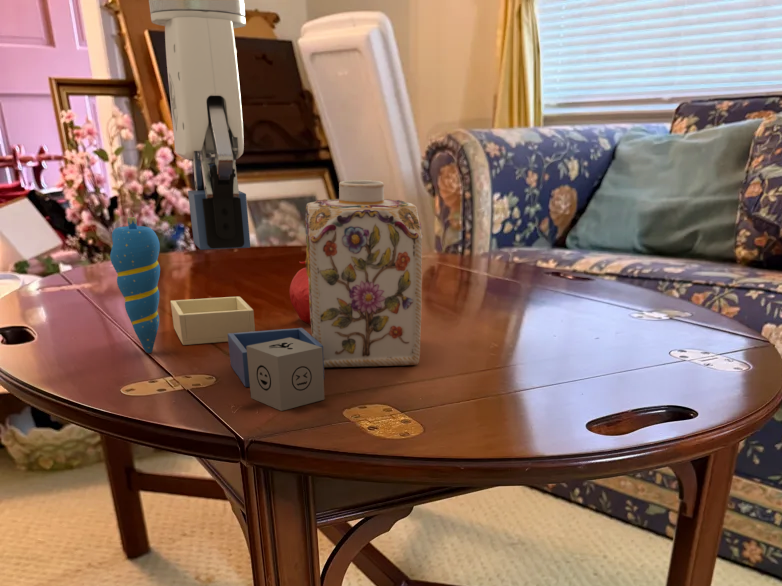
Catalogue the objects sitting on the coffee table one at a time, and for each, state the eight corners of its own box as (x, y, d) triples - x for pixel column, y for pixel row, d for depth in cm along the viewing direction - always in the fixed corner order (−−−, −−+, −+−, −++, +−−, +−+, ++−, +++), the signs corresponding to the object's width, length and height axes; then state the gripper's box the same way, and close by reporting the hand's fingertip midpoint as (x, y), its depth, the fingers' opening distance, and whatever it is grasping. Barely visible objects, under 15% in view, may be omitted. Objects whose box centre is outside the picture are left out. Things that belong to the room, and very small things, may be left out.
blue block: (200, 249, 68) (193, 194, 66) (193, 243, 71) (187, 190, 69) (250, 247, 69) (246, 193, 67) (241, 241, 73) (237, 189, 71)
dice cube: (293, 387, 76) (290, 337, 74) (324, 399, 73) (322, 347, 70) (250, 397, 73) (246, 345, 70) (281, 410, 70) (277, 356, 67)
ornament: (147, 345, 90) (126, 207, 82) (183, 350, 88) (165, 209, 81) (116, 356, 85) (92, 211, 78) (154, 361, 84) (132, 213, 76)
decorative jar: (406, 340, 93) (409, 177, 84) (422, 366, 83) (426, 185, 74) (308, 342, 92) (300, 177, 83) (312, 369, 82) (303, 185, 73)
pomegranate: (370, 329, 98) (369, 252, 93) (291, 331, 97) (287, 253, 92) (362, 312, 106) (361, 241, 102) (290, 314, 105) (286, 242, 101)
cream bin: (182, 345, 90) (178, 315, 88) (174, 328, 97) (170, 300, 95) (255, 339, 93) (253, 309, 91) (242, 323, 100) (239, 296, 98)
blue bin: (245, 387, 76) (242, 352, 74) (230, 365, 82) (227, 333, 81) (324, 379, 78) (323, 345, 77) (304, 359, 85) (302, 327, 83)
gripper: (141, 12, 67) (170, 233, 76) (158, -16, 53) (191, 258, 62) (227, 17, 70) (245, 231, 78) (264, -9, 56) (281, 254, 64)
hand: (221, 241), depth 70 cm, fingers closed on blue block, 4 cm apart
